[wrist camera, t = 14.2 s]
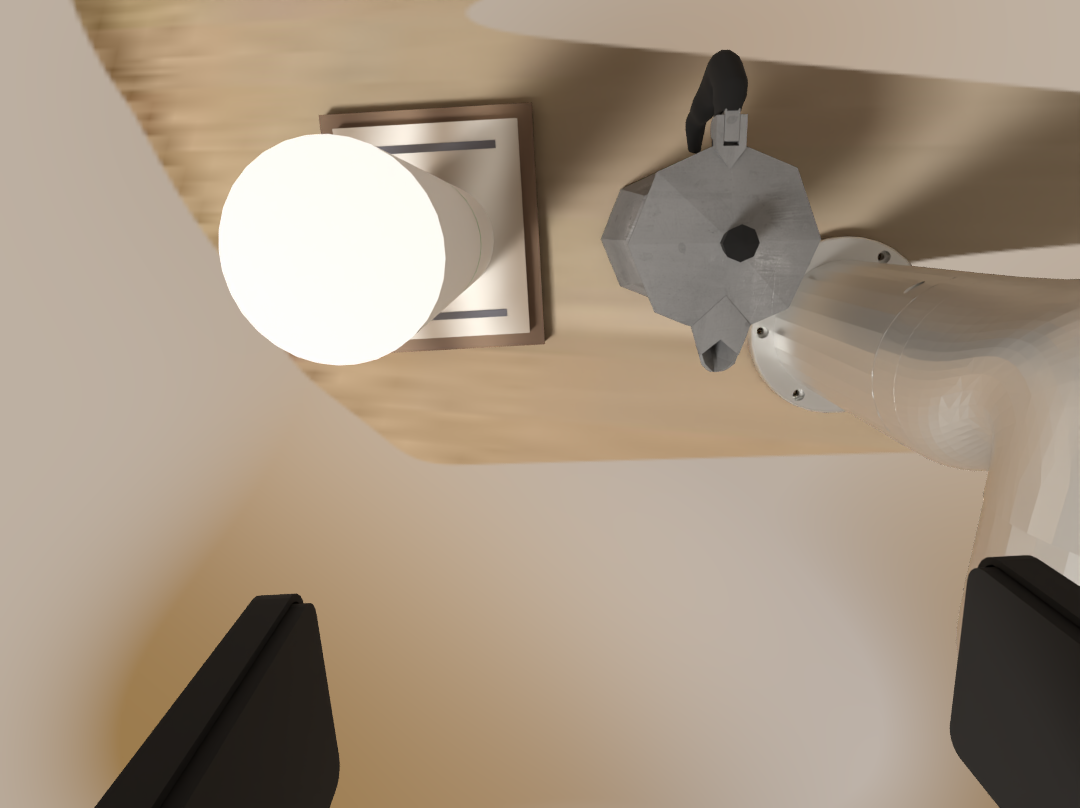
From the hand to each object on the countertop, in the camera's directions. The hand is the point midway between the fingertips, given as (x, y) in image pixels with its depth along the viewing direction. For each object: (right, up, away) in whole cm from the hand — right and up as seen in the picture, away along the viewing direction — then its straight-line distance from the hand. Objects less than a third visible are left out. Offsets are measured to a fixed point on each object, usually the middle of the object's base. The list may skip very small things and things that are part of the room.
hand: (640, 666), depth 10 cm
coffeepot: (+7, +17, +38) cm, 42 cm away
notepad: (-8, +16, +38) cm, 42 cm away
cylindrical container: (-8, +15, +36) cm, 40 cm away
